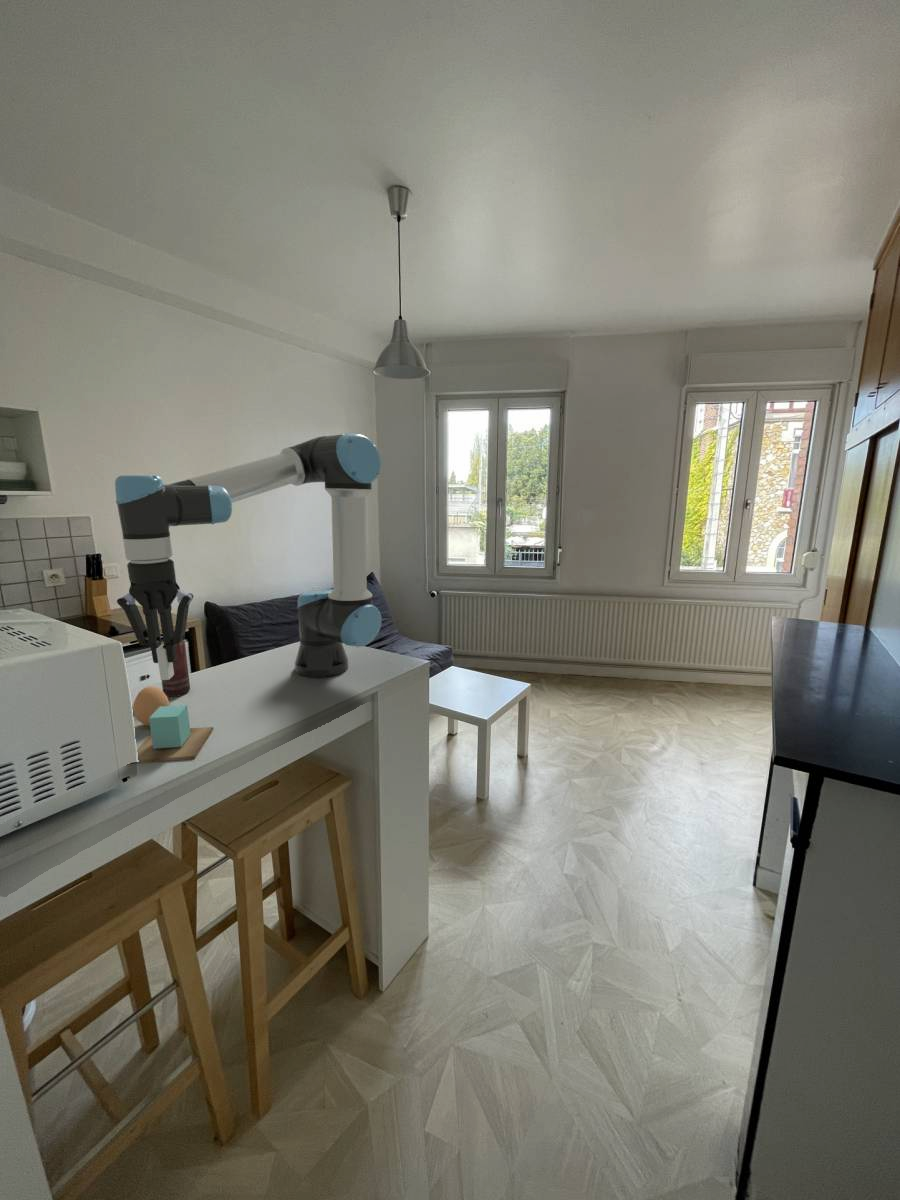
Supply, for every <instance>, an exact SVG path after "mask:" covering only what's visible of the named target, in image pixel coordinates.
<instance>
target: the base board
mask: <svg viewBox="0 0 900 1200" xmlns="http://www.w3.org/2000/svg"><path fill="white" fill-rule="evenodd" d="M214 729H215V728H214V726H208V727H192V728H191V727H190V736H189V737H188V738H187V740H186V741H185V743H184V744H183V745H182V747H171V748H155V749H153V743H152V735H151V733H150V734H149V735H148V736H147V738H146V739H145V740H144V741H143V742H142V744H140V746H139V747H137V749H136V750H137V752H138V760H139V763H140V764H141V763H153V762H165V761H166V762H167V761H180V760H181V761H183V760H184V761H185V760H195V759H196V758H197V756H198V755H199V753H200V751H201V750H202V749H203V747H204V745H205V743H206V742H207V740H208V739H209V737H210V736H211V734H212V732H213V731H214ZM139 763H138V764H139Z"/></svg>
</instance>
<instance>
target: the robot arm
mask: <svg viewBox="0 0 900 1200" xmlns="http://www.w3.org/2000/svg"><path fill="white" fill-rule="evenodd" d="M381 460H382V459H381V456H380V453H379V451H378V448H377V446H376V445H375V444H374V443H373V441H372V440H371V439H369V437H367V436H365V435H363V434H358V433H344V434H336V435H325V436H324V435H323V436H317V437H315V438H312V439H309V440H307V441H306V440H305V441H304V442H300V443H298V444H296V445H293V446H290V447H285V448H283V449H281V451H280V454H276V455H273V456H268V457H265V458H261V459H257V460H254V461H251V462H247V463H242V464H239V465H235V466H232V467H229V468H225V469H220V470H217V471H213V472H210V473H206V474H202V475H198V476H195V477H191V478H187V479H185V480H180V481H176V482H174V483H169V484H165V483H164V482H163V479H162V477H161V476H160V475H143V474H142V475H134V474H132V475H130V474H129V475H128V474H127V475H126V474H125V475H119V476H117V477H116V478H115V481H114V487H115V488H114V489H115V503H116V505H117V506H116V507H117V511H118V515H119V516H118V517H119V522H120V527H121V533H122V541H123V547H124V555H125V559H126V560H127V561H129V562H128V563H127V564H126V566H127V572H128V573H127V574H128V578H129V579H128V580H129V583H130V586H129V588H128V593H127V594H125V595H123V596H122V597H120V598H118V599H117V600H116V603H117V604H118V605H119V606H120V607H121V609H122V610H123V611H124V613H125V615H126V618H127V619H128V622H129V624H130V626H131V629H132V631H133V633H134V636H135V638H136V640H137V642H138V644H139V646H142V647H143V646H147V647H149V648H150V649H151V656H152V662H153V663H154V664H158V669H159V676H160V677H159V678H160V681H162V680H169V679H170V678H171V677H172V676H173V675H174V669H173V663H172V662H174V661H175V660H176V658H177V656H176V649H175V644H179V643H180V642H181V641H182V640H185V639H186V631H187V630H186V629H187V623H188V617H189V616H188V615H189V607H190V604H191V602H192V600H193V599H194V595H193V593H191V592H190V593H186V592H184V591H183V590H181V589H180V586H179V585H178V583H177V581H176V579H177V578H176V570H175V563H174V560H172V559H171V557H173V549H172V542H171V541H172V540H171V533H170V527H177V526H195V525H216V524H221V523H226V522H228V521H229V519H231V516H232V511H233V507H232V503H235V502H238V501H241V500H244V499H247V498H250V497H253V496H254V497H255V496H257V495H261V494H263V493H266V492H270V491H273V490H276V489H279V488H282V487H285V486H288V485H293V486H295V487H296V486H302V485H305V484H309V483H310V484H311V483H324V490H325V491H326V492H327V494H329V496H330V497H331V534H332V567H333V568H332V569H333V570H332V573H333V575H332V576H333V579H332V580H333V589H319V590H311V591H307V592H303V593H301V594H299V596H298V597H297V606H296V608H297V615H298V632H299V633H298V634H299V647H298V650H297V654H296V658H295V661H294V671H295V673H297V674H298V675H300V676H303V677H309V678H324V677H331V676H336V675H339V674H341V673H344V672H345V671H347V670H348V669H349V658H348V655H347V653H346V650H345V648H344V645H345V646H351V647H355V648H360V647H364V646H367V645H369V644H370V643H371V642H373V641H374V639H375V637H377V636H378V633H379V632H380V629H381V627H382V619H383V618H382V615H381V612H380V610H379V609H378V607H376V605H375V606H374V605H373V593H371V592H370V590H368V588H367V587H368V584H367V582H368V581H367V580H368V579H367V506H366V503H367V502H366V501H367V500H366V499H367V496H368V495H369V494H371V492H372V483H373V482H374V481H375V480H376V479H377V477H378V475H379V474H380V472H381V467H382V461H381ZM176 597H177V599H176ZM175 599H176V600H177V603H178V606H177V612H176V619H175V624H174V622H173V621H174V620H173V616H172V604H173V603H174V601H175ZM136 602H137V603H138V604H139V605H140V606H141V607H142V613H143V615H144V618H145V622H144V620H143V617H142V615H141V613H140V610H139V608H138V605H137V604H136ZM158 615H159V616H158ZM158 617H159V618H158ZM159 621H160V624H159ZM174 625H175V626H174ZM160 628H161V629H160ZM160 630H161V632H160ZM161 634H162V635H161ZM161 636H162V637H161ZM161 640H162V641H161ZM162 642H164V644H162V645H160V643H162ZM343 644H344V645H343Z"/></svg>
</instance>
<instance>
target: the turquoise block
mask: <svg viewBox="0 0 900 1200" xmlns="http://www.w3.org/2000/svg"><path fill="white" fill-rule="evenodd" d="M188 709H189V707H188V705H187V704H183V705H169V706H160V707H159V708H158V709H157V710H156V711H155V712H154V713H153V714H152V716H151V717H150V718H149V721H150V734H151V735H152V743H153V749H155V748H171V747H182V745H183V744H184V743H185V741H186V740H187V738H188V737H189V736H190V728H191V727H190V720H189V718H190V717H189V710H188Z"/></svg>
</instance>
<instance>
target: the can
mask: <svg viewBox="0 0 900 1200" xmlns="http://www.w3.org/2000/svg"><path fill="white" fill-rule="evenodd" d="M162 640H163V639H161V641H162ZM184 640H185V639H183V640H182V641H181V642H180V643H179V644H175V649H176V656H177V658H176V660H175V661H174V662H172V663H173V669H174V675H173V676H172V677H171V678H170V679H169V680H161V686H162V687H161V688H162V691H163V692H164V693H165V695H166V696H167V698H169V697H170V698H173V697H174V698H175V697H176V698H177V697H181V696H183V695H186V694H187V693H189V692H190V690H191V683H190V674H189V673H190V672H189V667H188V657H187V648H186V642H185V641H184ZM162 644H164V642H162V643H160V645H162Z"/></svg>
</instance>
